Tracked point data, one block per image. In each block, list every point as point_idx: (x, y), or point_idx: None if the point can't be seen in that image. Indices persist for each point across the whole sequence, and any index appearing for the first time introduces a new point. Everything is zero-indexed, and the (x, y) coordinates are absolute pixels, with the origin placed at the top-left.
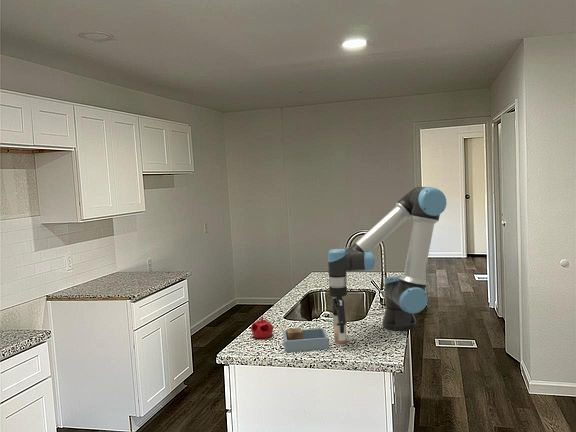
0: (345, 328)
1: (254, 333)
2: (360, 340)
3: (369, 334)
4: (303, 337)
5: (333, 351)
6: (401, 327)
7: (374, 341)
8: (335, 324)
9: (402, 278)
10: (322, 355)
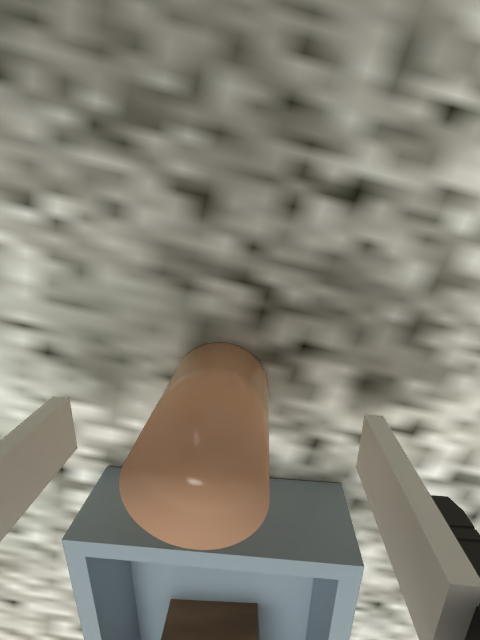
0: (235, 429)
1: None
2: (210, 216)
3: (41, 73)
4: (128, 594)
5: None
6: None
7: (275, 70)
8: (34, 478)
9: None
10: None
